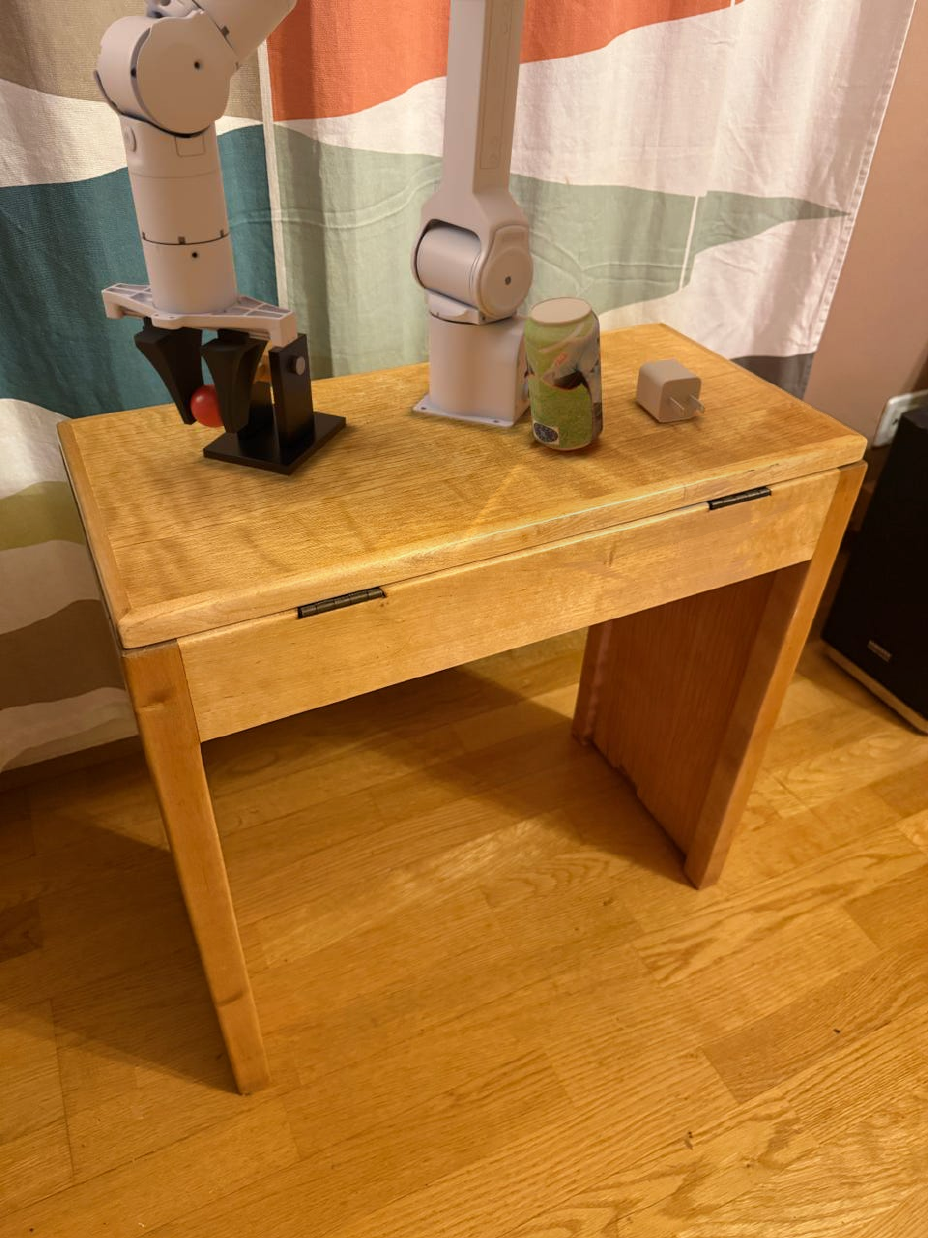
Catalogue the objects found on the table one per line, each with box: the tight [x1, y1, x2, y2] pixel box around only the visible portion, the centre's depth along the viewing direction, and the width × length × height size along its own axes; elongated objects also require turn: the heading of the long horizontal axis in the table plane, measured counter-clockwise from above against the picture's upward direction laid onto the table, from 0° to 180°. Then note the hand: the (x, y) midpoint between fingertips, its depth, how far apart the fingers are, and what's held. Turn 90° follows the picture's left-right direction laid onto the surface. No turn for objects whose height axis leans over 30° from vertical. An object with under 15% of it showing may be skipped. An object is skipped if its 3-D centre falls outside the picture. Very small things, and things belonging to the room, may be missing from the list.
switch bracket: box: [202, 332, 347, 476], centre depth 75 cm, size 10×8×9 cm
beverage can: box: [524, 296, 604, 451], centre depth 76 cm, size 6×7×12 cm
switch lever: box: [190, 341, 274, 429], centre depth 70 cm, size 11×3×3 cm, turn 159°
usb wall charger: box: [635, 358, 706, 423], centre depth 82 cm, size 4×7×4 cm, turn 18°
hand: (215, 423), depth 69 cm, fingers closed on switch lever, 3 cm apart
